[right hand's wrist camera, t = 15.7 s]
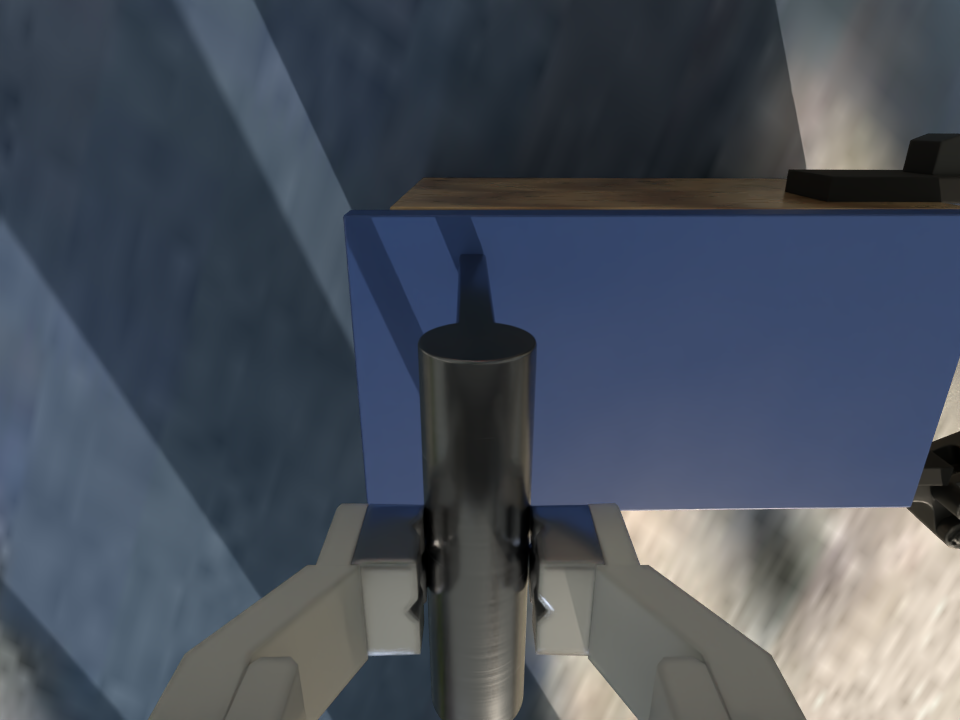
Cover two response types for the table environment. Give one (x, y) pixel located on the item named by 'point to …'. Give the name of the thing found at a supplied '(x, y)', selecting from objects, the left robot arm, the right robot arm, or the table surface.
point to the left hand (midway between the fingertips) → (777, 332)
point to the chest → (620, 195)
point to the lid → (633, 382)
